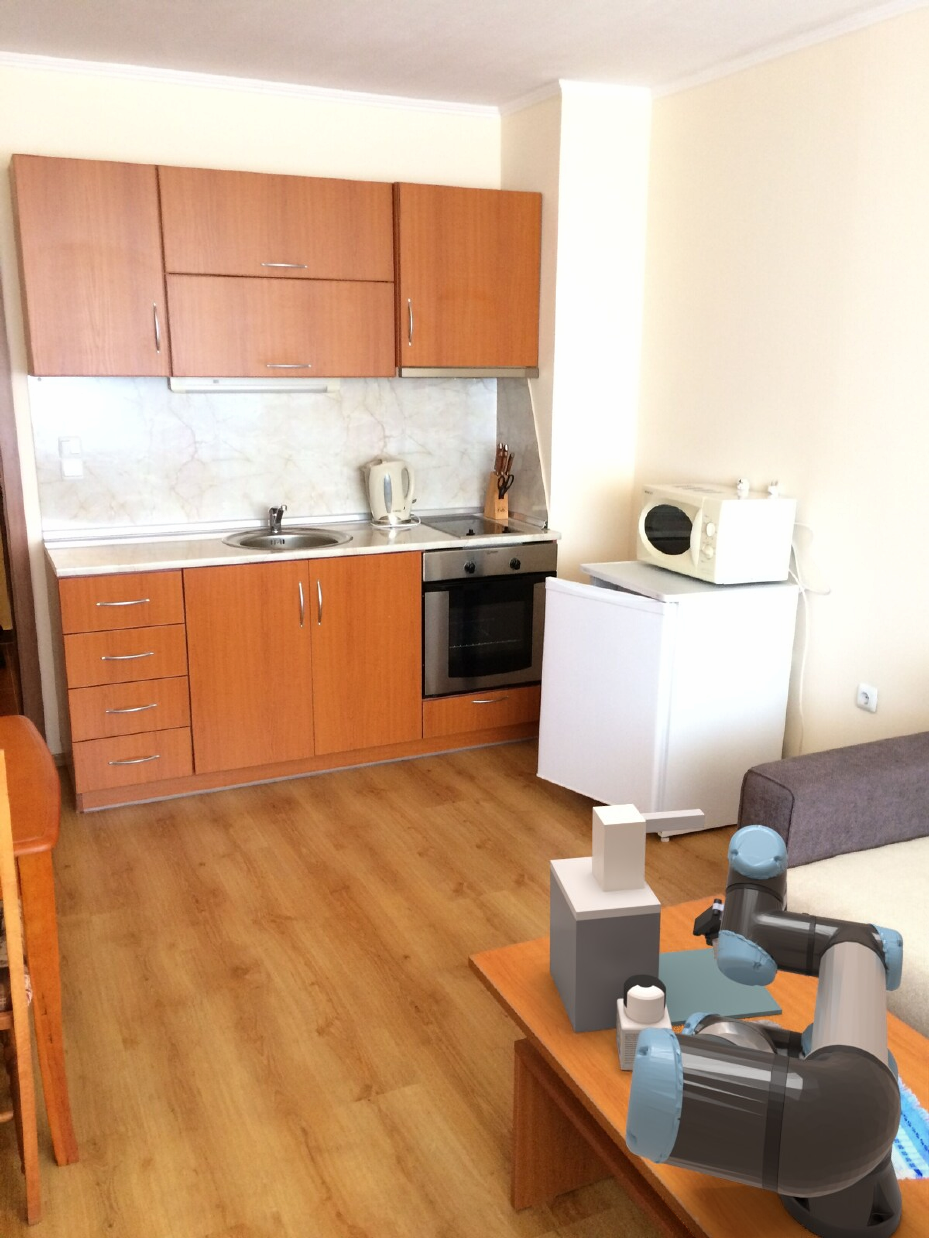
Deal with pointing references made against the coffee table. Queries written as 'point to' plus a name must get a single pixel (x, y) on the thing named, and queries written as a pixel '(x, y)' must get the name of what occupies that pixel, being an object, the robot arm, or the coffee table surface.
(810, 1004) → the coffee table surface
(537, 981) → the coffee table surface
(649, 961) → the stand
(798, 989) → the coffee table surface
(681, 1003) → the mat
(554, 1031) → the coffee table surface
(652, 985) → the container
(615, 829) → the tall white block
